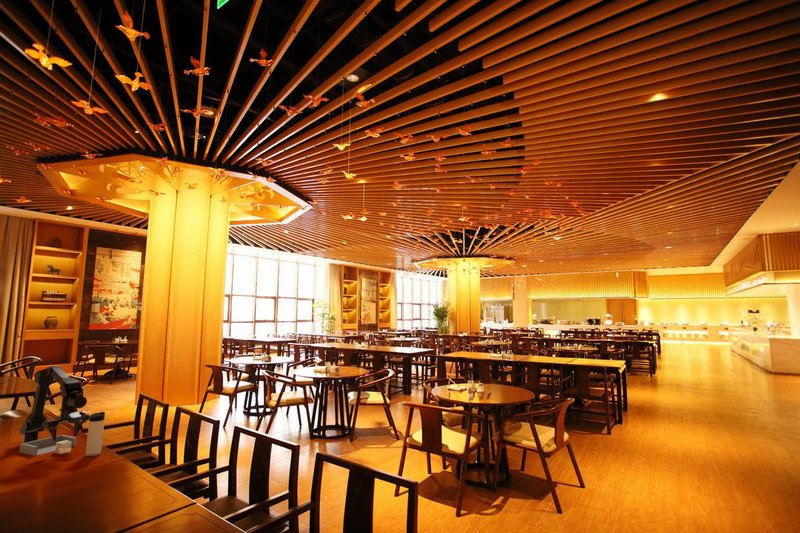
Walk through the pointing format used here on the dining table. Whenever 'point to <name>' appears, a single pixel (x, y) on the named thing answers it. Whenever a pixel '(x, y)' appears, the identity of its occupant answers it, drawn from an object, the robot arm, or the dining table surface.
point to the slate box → (44, 445)
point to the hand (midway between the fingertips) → (64, 438)
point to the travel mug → (95, 434)
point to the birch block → (63, 447)
